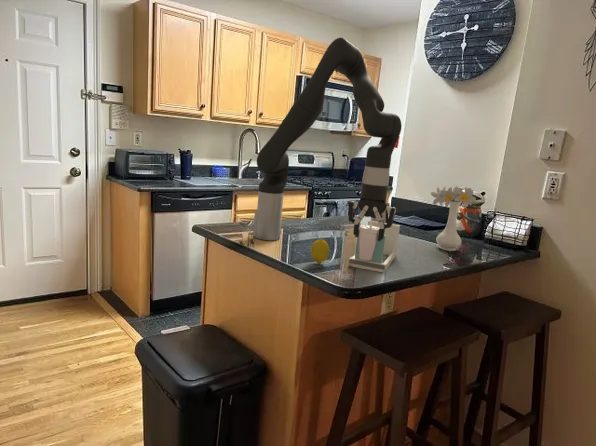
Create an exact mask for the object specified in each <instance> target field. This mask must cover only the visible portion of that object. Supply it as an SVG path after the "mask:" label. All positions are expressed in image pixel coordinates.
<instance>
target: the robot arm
mask: <svg viewBox="0 0 596 446" xmlns="http://www.w3.org/2000/svg"><path fill="white" fill-rule="evenodd" d="M318 62H319V63H318V64H317V67H316V68H315V70H314V72H313V73H312V76H311V77H310V79H309V80H308V82H307V84H306V85H305V87H304V88H303V90H302V91H301V93H300V94H299V96H298V97H297V98H296V100H295V101H294V103H293V104H292V106H291V108H290V109H289V111H288V112H287V113H286V115H285V117H284V119H283V120H282V121H281V123H280V125H279V126H278V127H277V129H276V130H275V132H274V134H273V135H272V136H271V137H270V138H269V139H268V141H267V142H266V143H265V144H264V145H263V147H262V148H261V150H260V151H259V152H258V154H257V157H256V166H257V168H258V170H259V171H260V172H262V173H264V178H263V179H262V181H260V183H259V184H258V192H257V194H258V195H257V207H256V211H254V219H253V228H252V229H253V233H252V237H253V238H256V239H259V240H263V241H277V240H280V239H281V229H282V228H281V227H282V220H283V219H282V218H283V217H282V216H283V208H284V207H283V206H284V193H285V188H286V186H287V182H288V175H289V168H290V167H289V165H290V159H289V155H288V152H287V151H288V149H289V148H290V147H291V146H292V144H293V143H294V142H296V141H297V140H298V139H299V138H301V137H302V136H303V135H304V134H306V133H307V131H308V130H310V128H311V127H312V126H313V125H314V123H316V120H317V119H318V118H319V117H320V114H321V113H322V111H323V108H324V103H325V95H326V88H327V84H328V82H329V80H330V79H331V76H332V75H333V74H334V72H335V71H337V72H338V73H339V74H341V75H343V76H345V78H347V79H348V81H350V83H351V85H352V95H353V98H354V101H355V104H356V105H357V107H358V109H359V110H360V113H361V119H362V125H363V126H362V127H363V129H364V131H365V132H366V134H367V135H369V136H370V137H373V138H380V141H379V143H378V144H377V145H372V146H369V147H368V148H367V151H366V157H365V166H364V171H363V174H362V179H361V189H360V197H359V201H354V200H353V201H349V202H348V222H350V223H353V225H354V226H353V233H352V234H353V235H354V237H355V238H357V237H359V226H360V225H361V224H360V223H361V222H362V220H363V219H364V218H371V217H372V218H377V221H378V223H379V226H380V229H379V235H378V241H381V240H382V239H383V238H384V233H385V228H390V227H391V226H392V224H393V222H394V219H395V215H396V212H397V208H396V207H395V206H393V207H392V206H390V207H389V206H387V204H386V203H387V197H388V192H389V191H388V190H389V183H390V169H391V164H392V163H391V162H392V155H393V151H394V150H395V147H396V145H397V143H398V140H399V138H400V135H401V131H402V125H403V124H402V120H401V118H400V116H399V115H397V114H395V113H393V112H391V113H390V112H383V111H384V109H385V102H384V99H383V97H382V96H381V94H380V93H379V91H378V89H377V88H376V86H375V84H374V82H373V81H372V79H371V76H370V73H369V72H368V69H367V67H366V66H367V65H366V63H365V59H364V57H363V54H362V51H361V50H360V49H359V48H358V47H356V45H354V44H352V43H351V42H350V41H348V40H347V39H346V38H344V37H337V38H336V39H334V40H333V41H332V42H331V43H330V44H329V45H328V46H327V49H326V50H325V52H324V54H322V57H321V59H320V60H319V61H318ZM357 207H358V208H359V210H360V212H359V214H358V216H357V217H356V216H355V209H357ZM385 210H387V211H388V214H389V217H388V222H387V223H386V224H385V222H384V218H383V215H382V213H383V212H384V211H385ZM355 217H356V218H355ZM378 217H379V218H378Z"/></svg>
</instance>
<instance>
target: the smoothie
mask: <svg viewBox="0 0 596 446" xmlns="http://www.w3.org/2000/svg"><path fill="white" fill-rule="evenodd" d="M370 221H371V223H370V225H368V224H360V226H359V258H360V259H363V260H371V259H372V256H373V252H374V248H375V245H376V241H377V237H378V233H379V229H380V228H379V227H376V226H372V222H373V218H372V217H370Z"/></svg>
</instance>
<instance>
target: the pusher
mask: <svg viewBox="0 0 596 446" xmlns="http://www.w3.org/2000/svg"><path fill="white" fill-rule="evenodd" d="M378 235H379V234H378ZM385 237H386V235H384V238H383V239H382V240H381V241H378V237H377V241H376V245H375V248H374V252H373V256H372V259H371V260H367V261H373V262H378V263H383V258H384V255H383V252H384V245H385ZM354 255H355V258H357V259H360V258H359V237H356V245H355V252H354ZM362 260H363V259H362Z"/></svg>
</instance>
